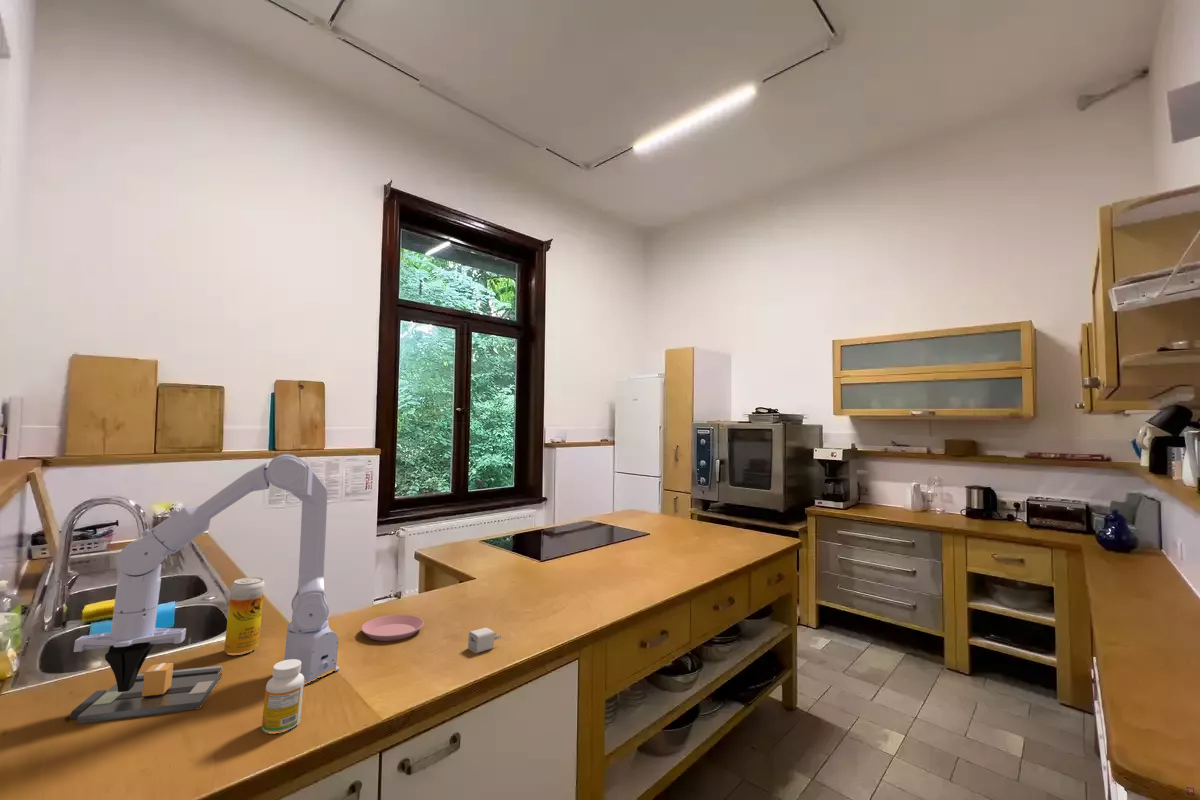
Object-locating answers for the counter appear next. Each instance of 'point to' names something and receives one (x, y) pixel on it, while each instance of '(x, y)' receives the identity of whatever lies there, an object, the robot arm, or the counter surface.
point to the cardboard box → (157, 679)
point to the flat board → (140, 678)
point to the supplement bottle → (283, 697)
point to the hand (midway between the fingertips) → (125, 689)
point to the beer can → (244, 615)
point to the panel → (150, 700)
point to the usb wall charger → (481, 640)
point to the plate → (392, 627)
